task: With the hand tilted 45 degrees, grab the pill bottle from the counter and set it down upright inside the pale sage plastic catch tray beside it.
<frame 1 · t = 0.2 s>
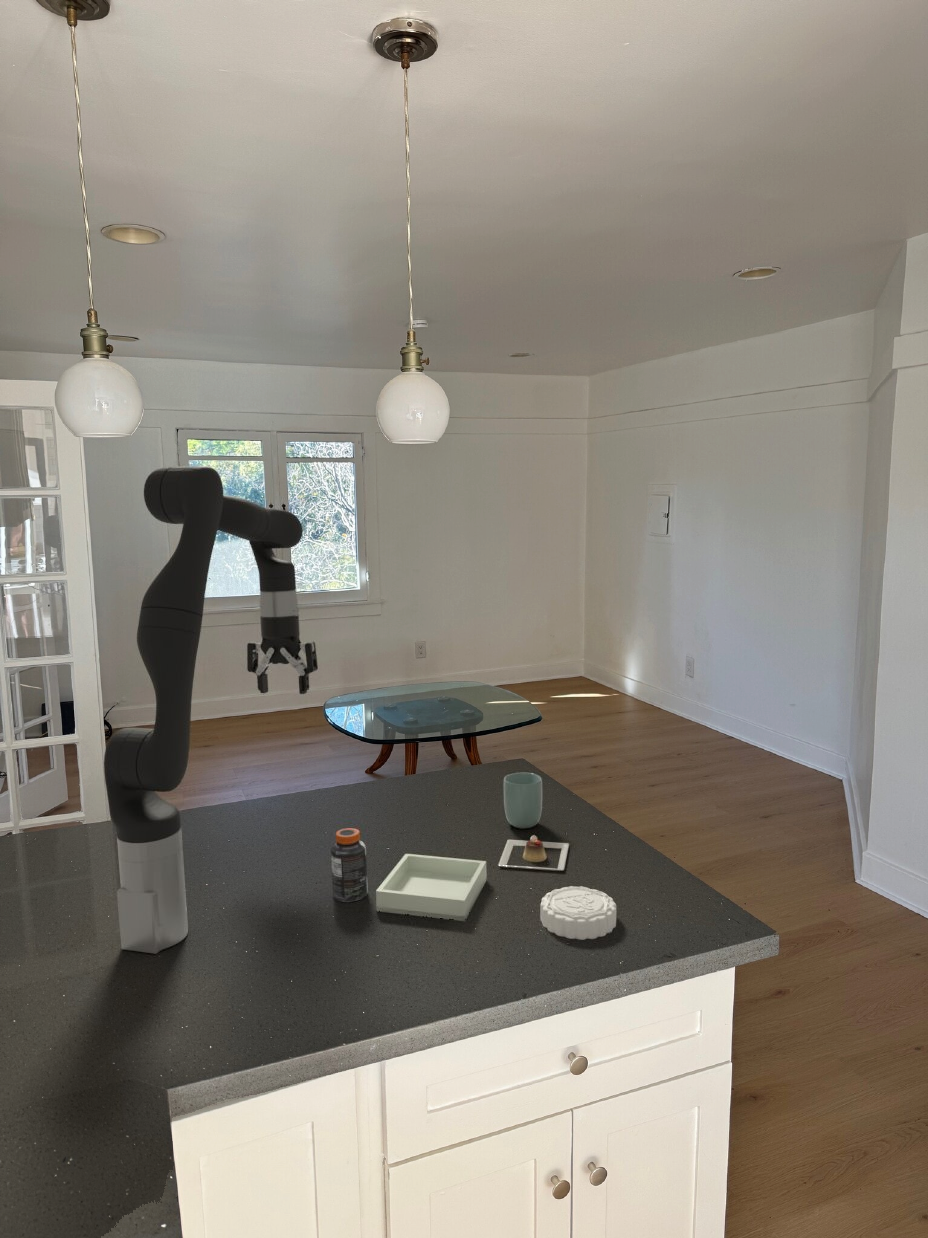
hand: (283, 693, 167), 29 cm above the worktop, tool pointing down, fingers open, 8 cm apart
pill bottle: (350, 896, 142), on the worktop
mooncake: (578, 922, 132), on the worktop
cup: (523, 825, 171), on the worktop
catch tray: (433, 895, 141), on the worktop
dessert: (534, 860, 156), on the worktop
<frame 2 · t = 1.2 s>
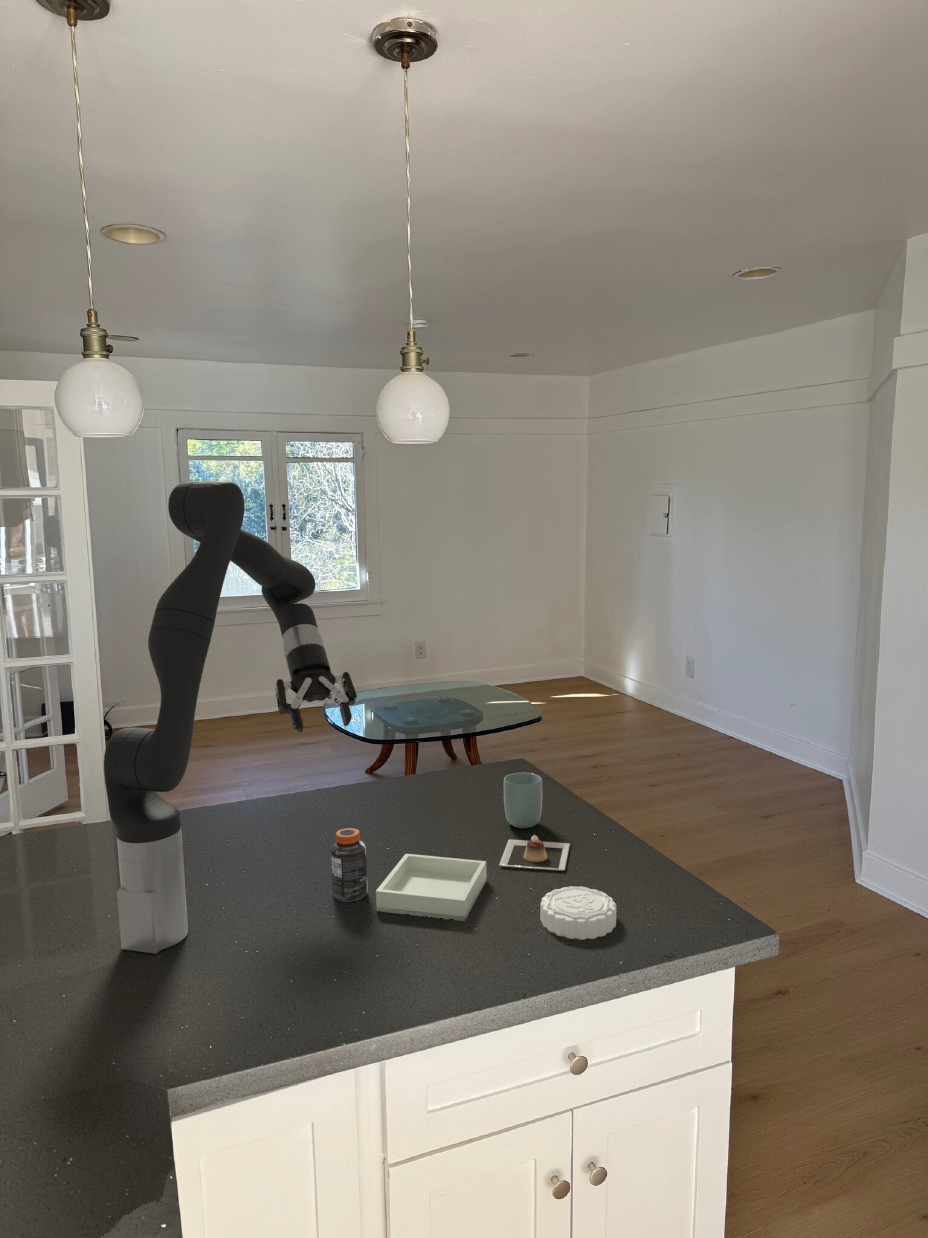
hand: (324, 727, 149), 27 cm above the worktop, tool tilted 45°, fingers open, 8 cm apart
nothing on the worktop moved.
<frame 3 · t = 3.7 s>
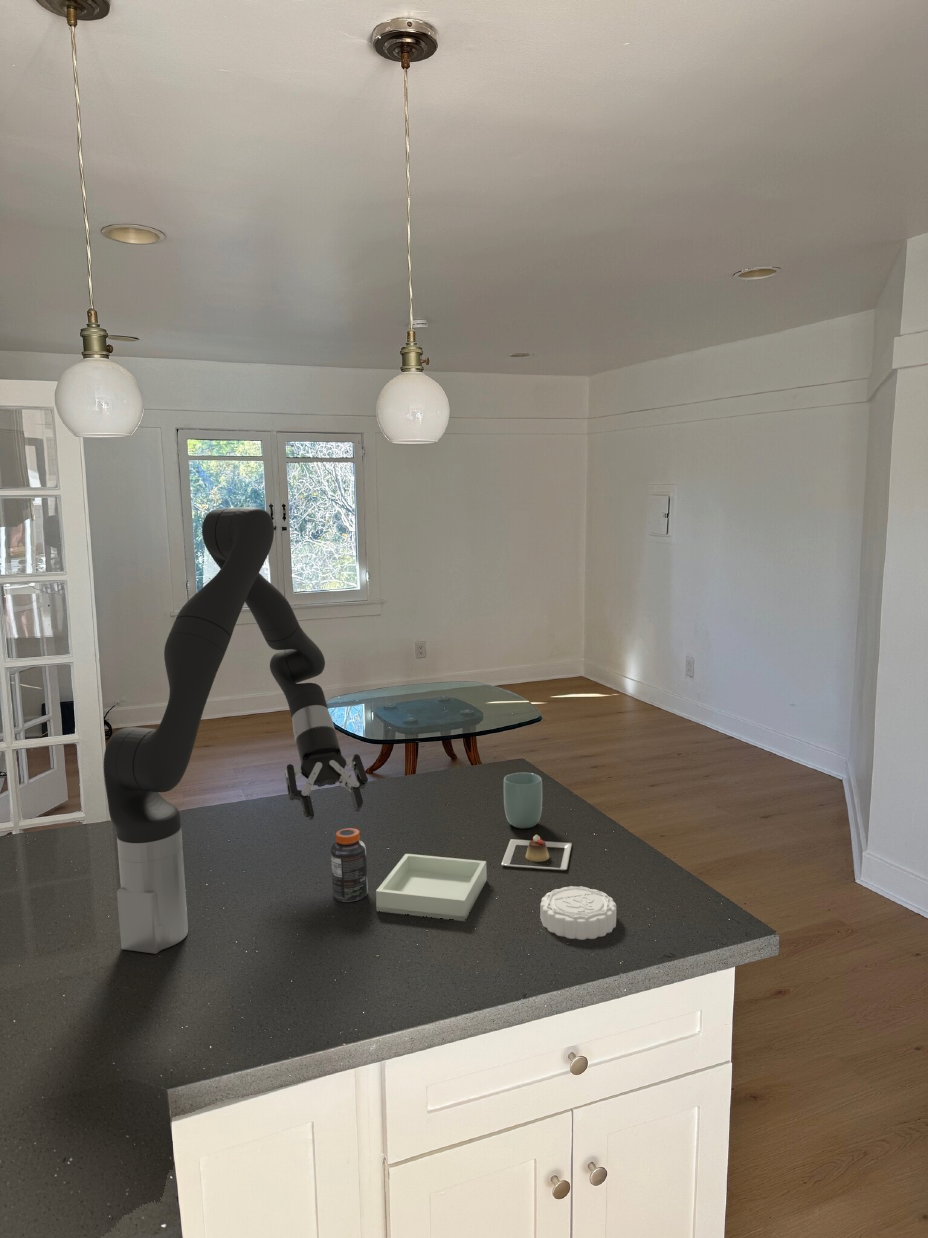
hand: (335, 813, 147), 12 cm above the worktop, tool tilted 45°, fingers open, 8 cm apart
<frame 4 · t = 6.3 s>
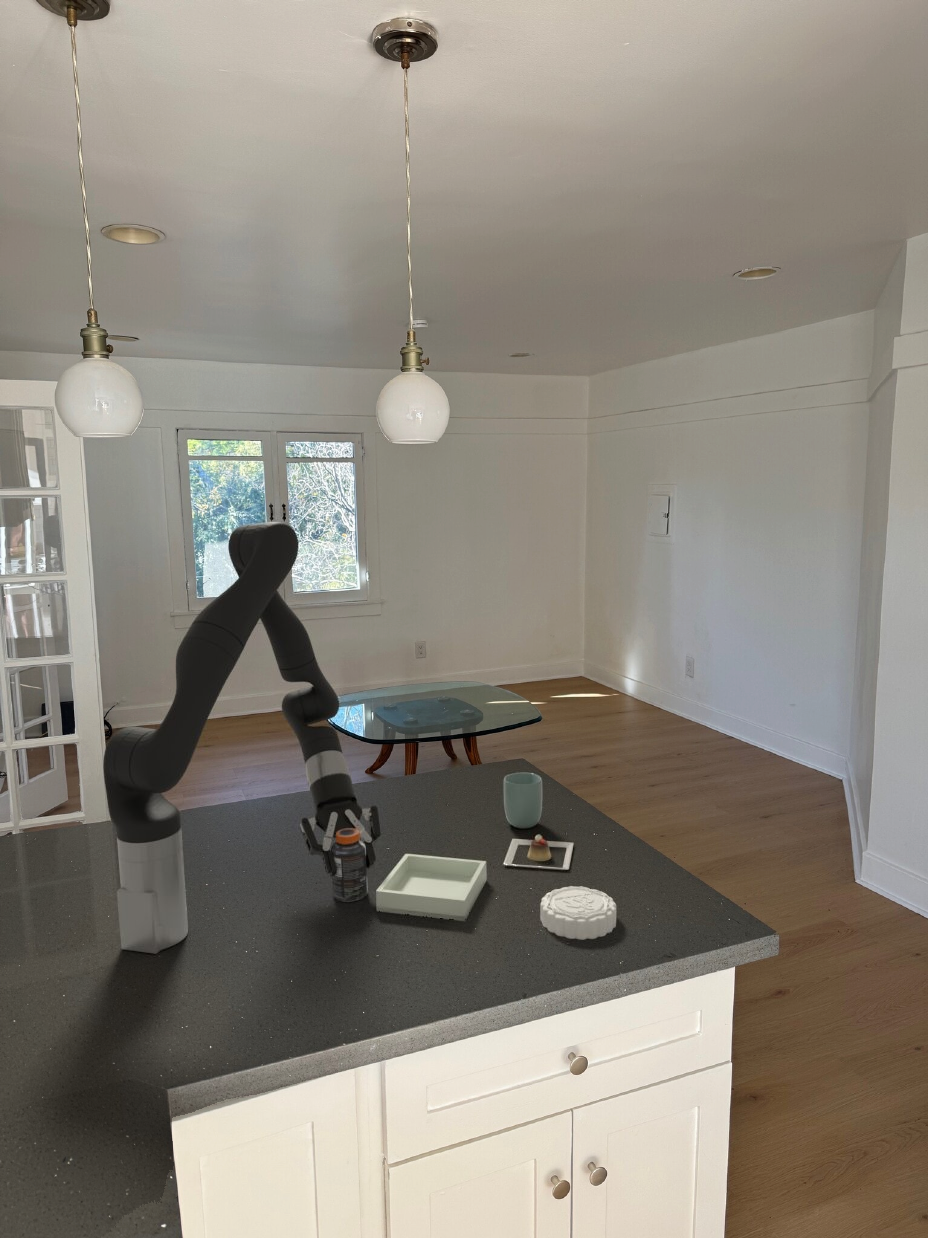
hand: (352, 870, 140), 5 cm above the worktop, tool tilted 45°, fingers closed on pill bottle, 6 cm apart
pill bottle: (350, 895, 142), on the worktop, touching gripper
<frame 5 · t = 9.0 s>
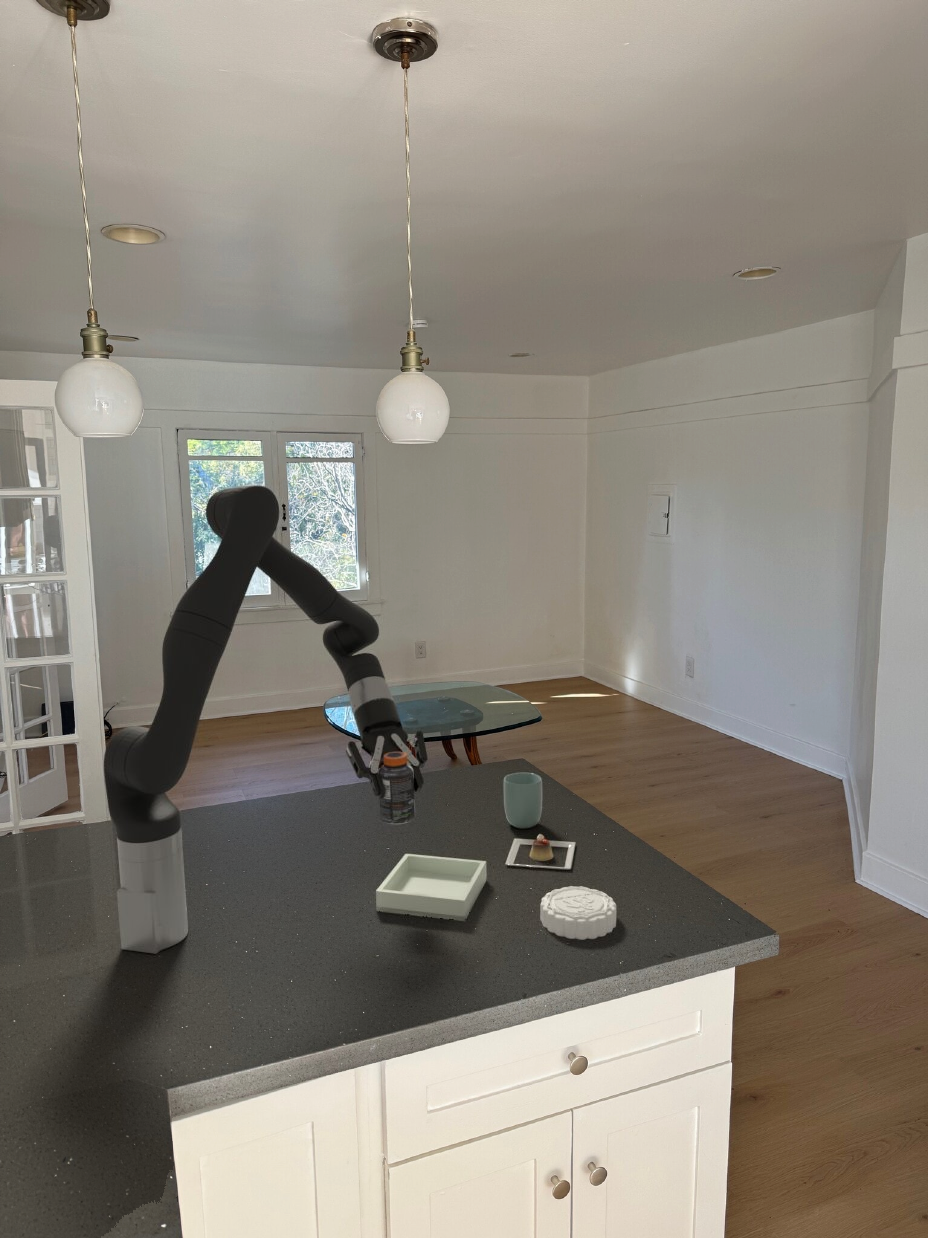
hand: (400, 792, 138), 18 cm above the worktop, tool tilted 45°, fingers closed on pill bottle, 6 cm apart
pill bottle: (397, 819, 141), point 13 cm above the worktop, touching gripper
when the fingers open (7 cm above the worktop, at t = 12.1 s): pill bottle drops 1 cm, resting on catch tray.
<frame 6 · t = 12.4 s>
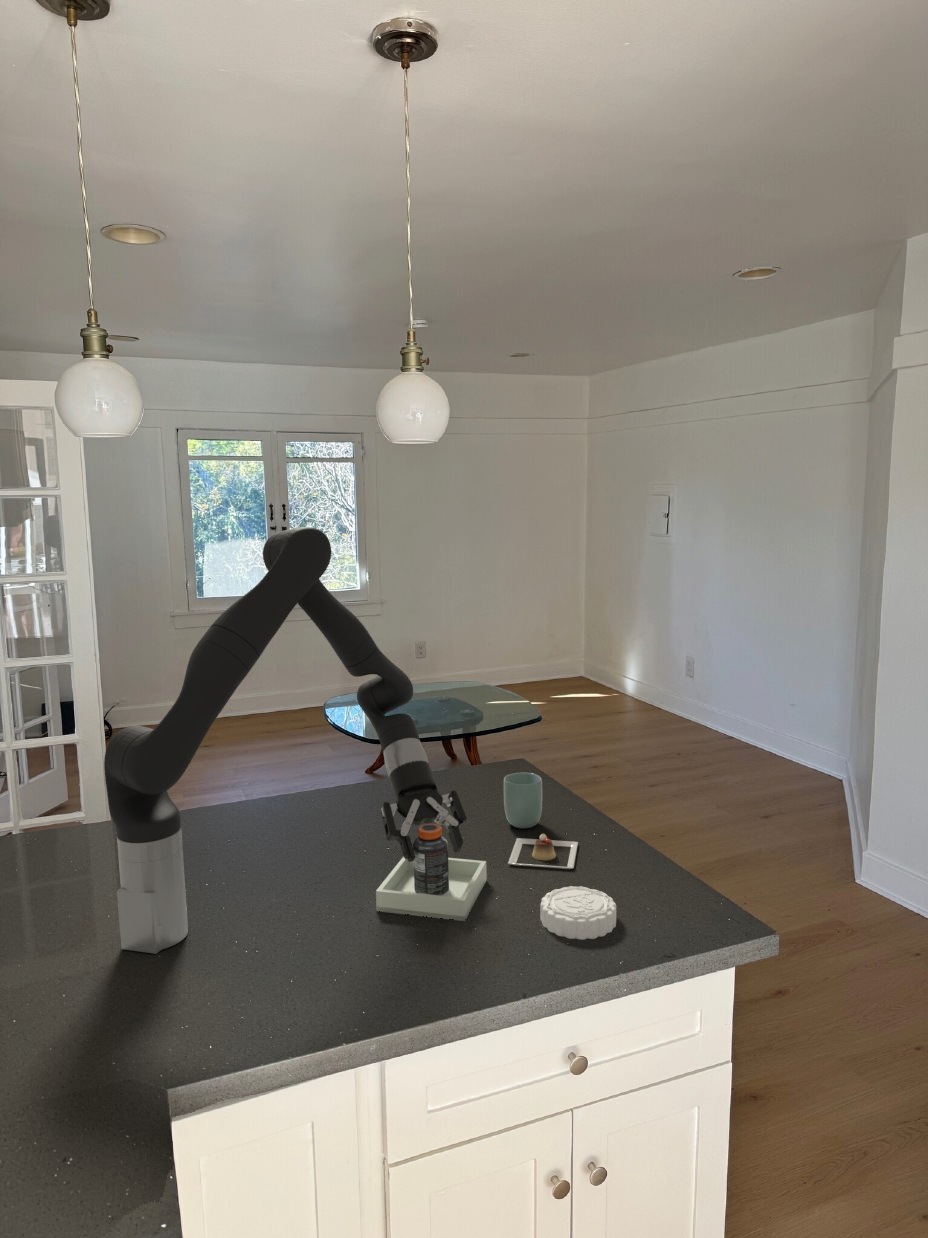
hand: (435, 855, 139), 8 cm above the worktop, tool tilted 45°, fingers open, 8 cm apart
pill bottle: (431, 891, 141), point 1 cm above the worktop, touching catch tray
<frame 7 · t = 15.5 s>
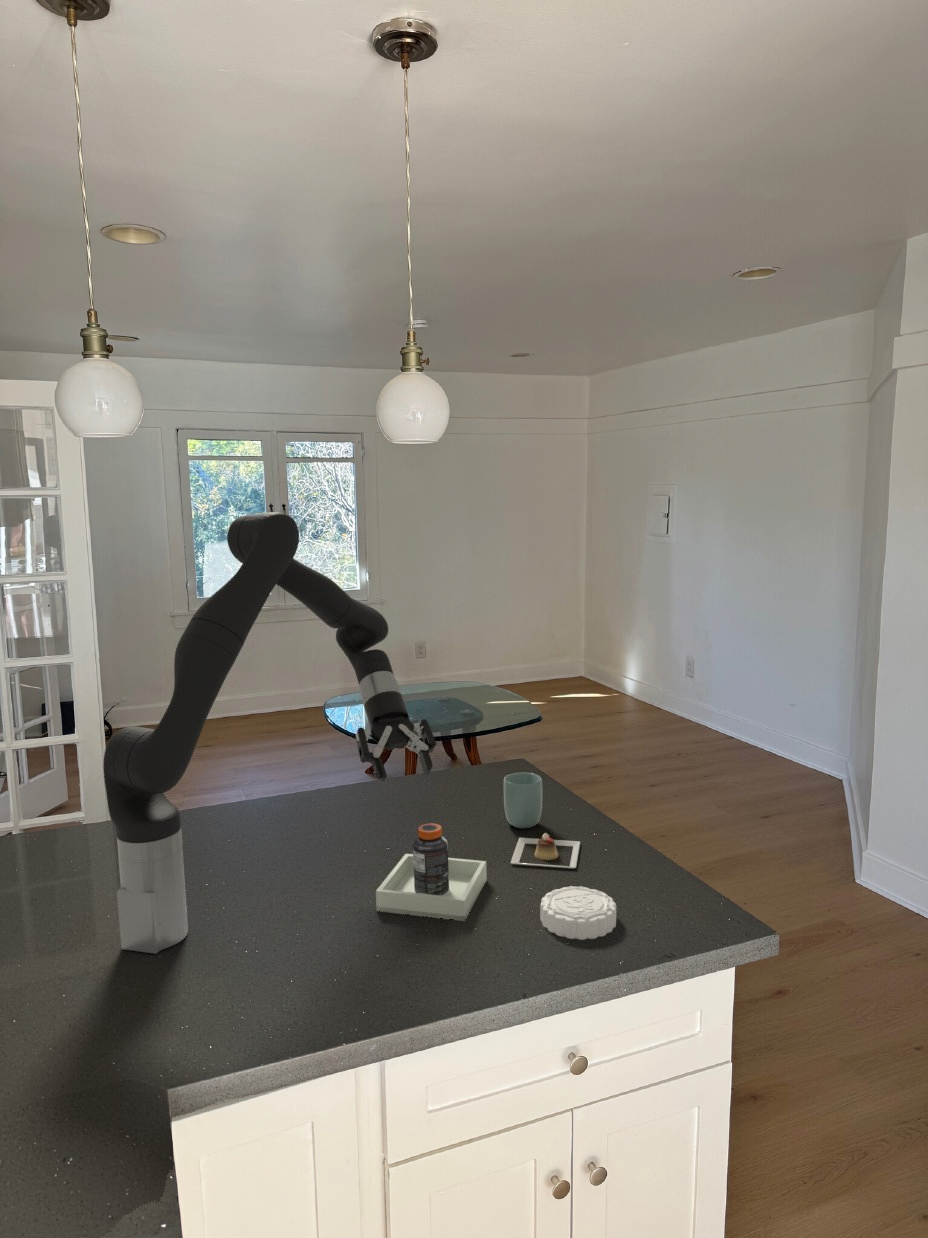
hand: (406, 775, 149), 18 cm above the worktop, tool tilted 45°, fingers open, 8 cm apart
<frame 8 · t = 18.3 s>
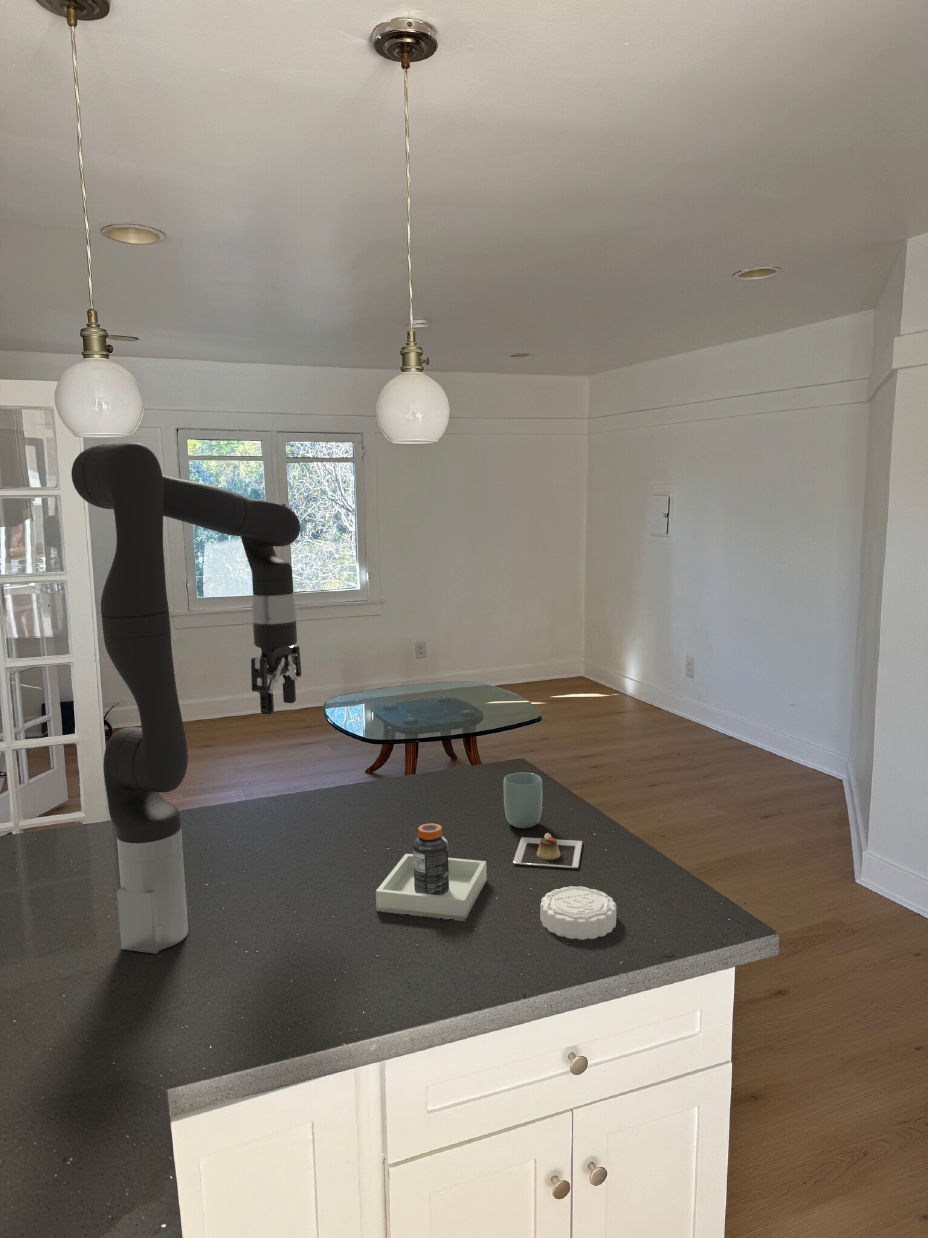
hand: (279, 708, 150), 30 cm above the worktop, tool pointing down, fingers open, 8 cm apart
at the end: pill bottle inside the target area on the catch tray (0.3 cm from its centre), point 0.6 cm above the catch tray's base; pill bottle tilted 0°; the gripper is holding nothing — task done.
